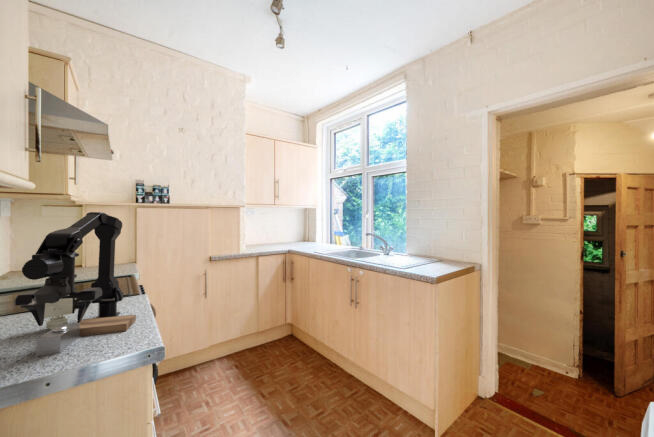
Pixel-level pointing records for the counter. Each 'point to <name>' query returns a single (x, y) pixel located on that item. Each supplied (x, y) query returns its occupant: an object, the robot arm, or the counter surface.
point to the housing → (57, 339)
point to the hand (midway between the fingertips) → (60, 323)
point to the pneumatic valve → (60, 311)
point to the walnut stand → (106, 325)
